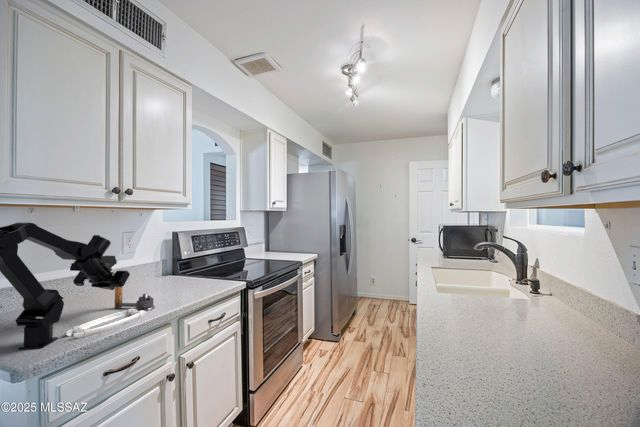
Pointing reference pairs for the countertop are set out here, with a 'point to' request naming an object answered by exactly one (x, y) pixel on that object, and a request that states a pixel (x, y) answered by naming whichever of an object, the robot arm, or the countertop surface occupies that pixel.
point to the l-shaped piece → (140, 303)
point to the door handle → (86, 331)
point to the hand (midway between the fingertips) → (113, 289)
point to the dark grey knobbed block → (145, 308)
